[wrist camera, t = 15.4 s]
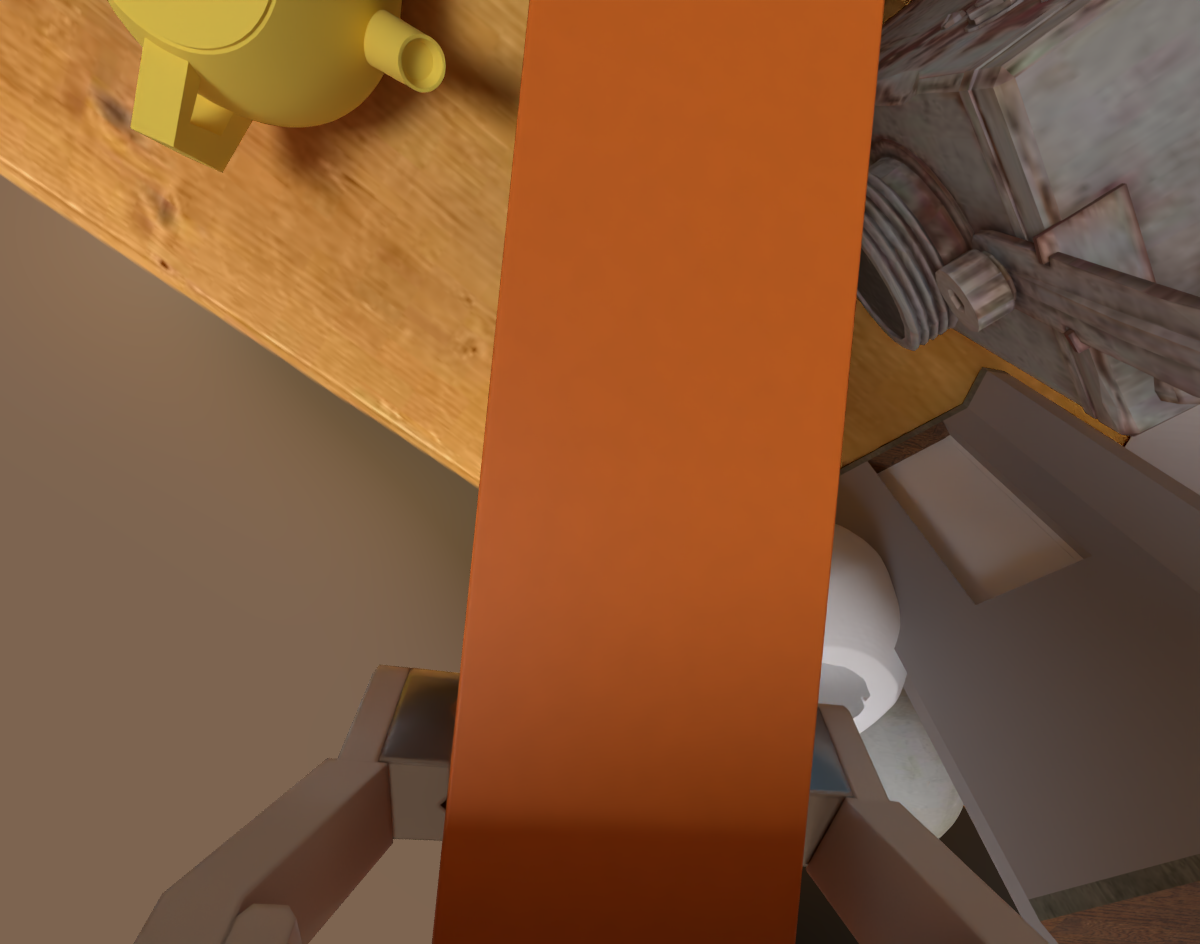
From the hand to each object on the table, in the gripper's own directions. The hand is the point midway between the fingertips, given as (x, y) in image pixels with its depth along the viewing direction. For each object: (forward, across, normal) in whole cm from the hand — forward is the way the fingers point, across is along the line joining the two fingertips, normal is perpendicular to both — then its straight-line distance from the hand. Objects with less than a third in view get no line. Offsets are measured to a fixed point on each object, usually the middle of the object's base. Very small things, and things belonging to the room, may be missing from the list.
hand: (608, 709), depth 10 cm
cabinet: (+31, -22, +12) cm, 40 cm away
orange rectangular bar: (+1, 0, -2) cm, 3 cm away
